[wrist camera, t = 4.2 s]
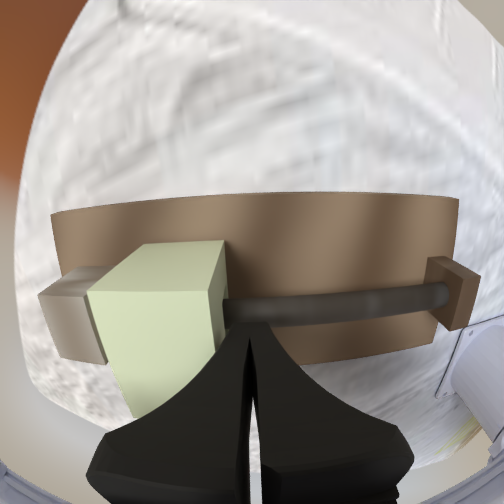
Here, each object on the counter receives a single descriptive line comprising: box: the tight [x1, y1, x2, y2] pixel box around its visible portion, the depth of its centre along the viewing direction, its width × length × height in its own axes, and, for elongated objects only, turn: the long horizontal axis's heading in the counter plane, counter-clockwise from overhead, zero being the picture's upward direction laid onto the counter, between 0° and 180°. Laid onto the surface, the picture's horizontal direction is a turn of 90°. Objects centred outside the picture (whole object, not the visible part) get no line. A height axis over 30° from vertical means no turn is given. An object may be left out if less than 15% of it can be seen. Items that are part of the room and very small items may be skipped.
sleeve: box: [87, 240, 229, 418], centre depth 11 cm, size 4×6×6 cm, turn 2°
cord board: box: [38, 192, 481, 365], centre depth 13 cm, size 24×10×5 cm, turn 92°
